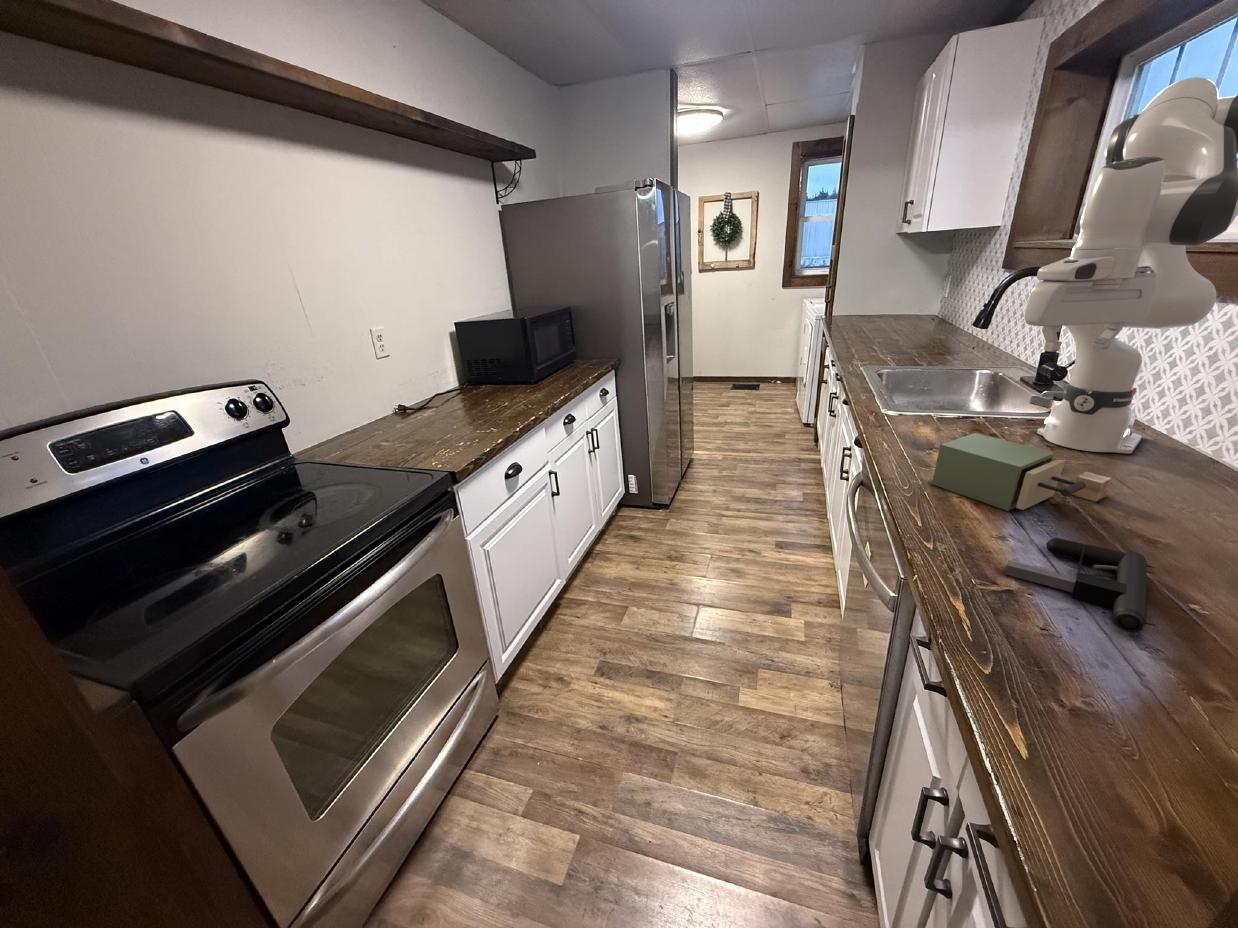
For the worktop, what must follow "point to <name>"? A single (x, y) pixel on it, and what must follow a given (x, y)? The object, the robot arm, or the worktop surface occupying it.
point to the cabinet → (985, 468)
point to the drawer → (1042, 483)
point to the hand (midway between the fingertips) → (1075, 349)
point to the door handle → (1097, 580)
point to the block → (1093, 486)
